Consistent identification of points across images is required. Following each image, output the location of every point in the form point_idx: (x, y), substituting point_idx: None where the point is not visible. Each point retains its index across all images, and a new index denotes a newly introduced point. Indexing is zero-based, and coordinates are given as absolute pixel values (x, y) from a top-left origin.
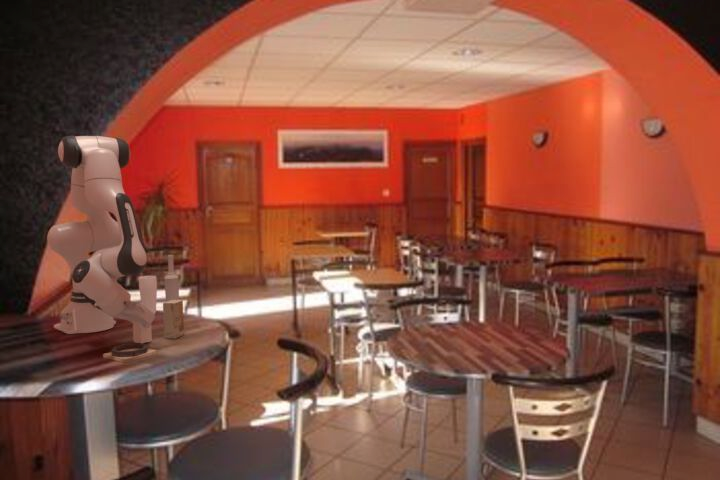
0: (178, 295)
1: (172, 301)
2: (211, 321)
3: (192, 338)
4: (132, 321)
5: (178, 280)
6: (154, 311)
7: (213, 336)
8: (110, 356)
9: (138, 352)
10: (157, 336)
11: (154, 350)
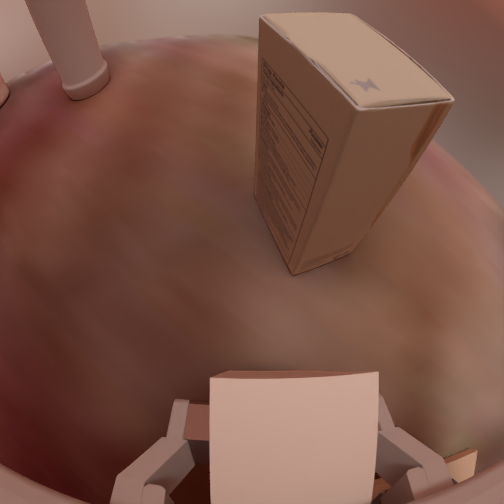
0: (85, 2)
1: (361, 48)
2: (229, 42)
3: (400, 206)
4: (186, 471)
5: None
6: (5, 91)
7: (426, 154)
8: None
9: None
10: (215, 263)
11: (470, 458)
